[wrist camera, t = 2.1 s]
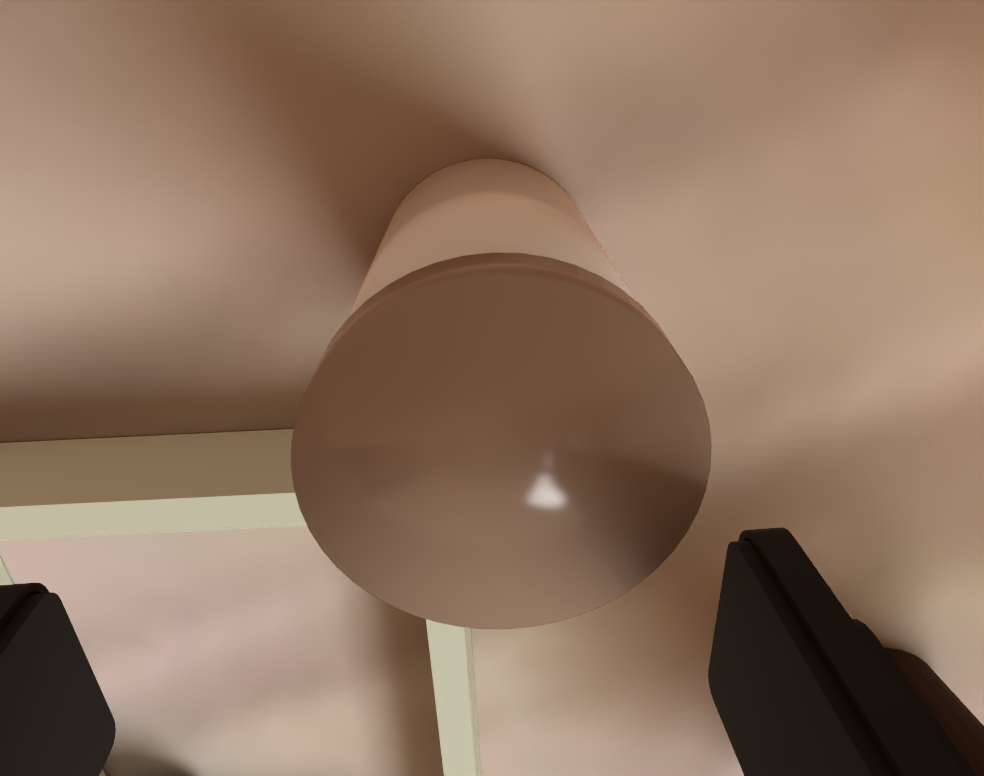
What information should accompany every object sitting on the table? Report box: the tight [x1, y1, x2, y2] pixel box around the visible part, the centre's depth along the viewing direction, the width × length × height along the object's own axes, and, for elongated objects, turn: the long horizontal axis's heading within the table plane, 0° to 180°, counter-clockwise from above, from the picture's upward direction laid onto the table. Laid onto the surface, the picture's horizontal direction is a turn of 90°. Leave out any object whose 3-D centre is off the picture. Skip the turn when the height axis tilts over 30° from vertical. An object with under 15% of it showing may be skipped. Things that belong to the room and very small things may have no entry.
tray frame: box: [0, 429, 481, 776], centre depth 22 cm, size 15×20×3 cm
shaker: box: [291, 159, 711, 629], centre depth 13 cm, size 5×5×9 cm
